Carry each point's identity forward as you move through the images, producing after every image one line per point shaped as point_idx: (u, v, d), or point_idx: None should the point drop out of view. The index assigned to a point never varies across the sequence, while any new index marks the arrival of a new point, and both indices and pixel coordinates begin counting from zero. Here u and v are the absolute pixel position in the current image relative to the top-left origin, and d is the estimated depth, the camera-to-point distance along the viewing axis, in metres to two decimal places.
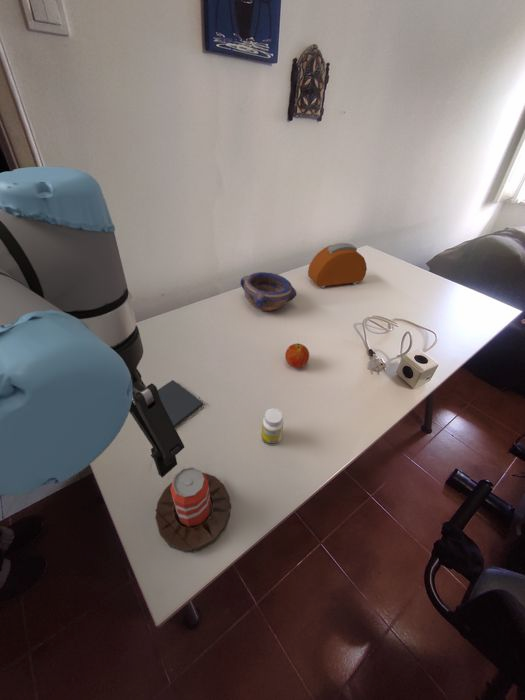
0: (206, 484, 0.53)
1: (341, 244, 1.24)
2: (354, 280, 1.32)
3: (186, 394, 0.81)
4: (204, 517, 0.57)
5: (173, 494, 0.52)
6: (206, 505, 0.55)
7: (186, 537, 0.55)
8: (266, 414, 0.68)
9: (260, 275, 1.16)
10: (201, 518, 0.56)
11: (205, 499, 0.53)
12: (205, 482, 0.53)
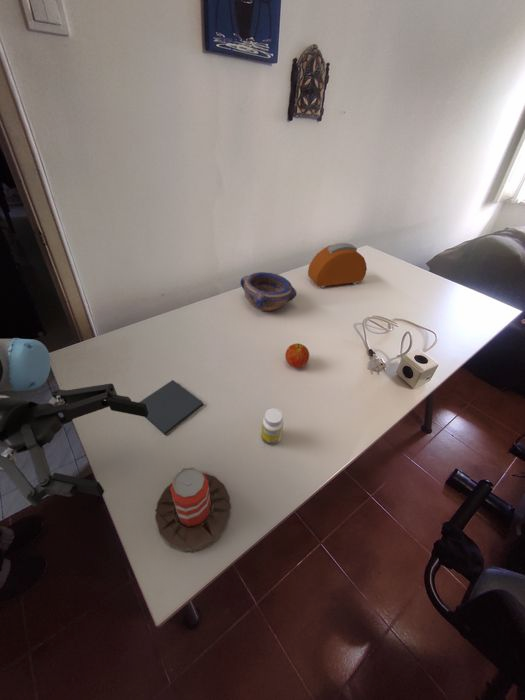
0: (206, 484, 0.53)
1: (341, 244, 1.24)
2: (354, 280, 1.32)
3: (186, 394, 0.81)
4: (204, 517, 0.57)
5: (173, 494, 0.52)
6: (206, 505, 0.55)
7: (186, 537, 0.55)
8: (266, 414, 0.68)
9: (260, 275, 1.16)
10: (201, 518, 0.56)
11: (205, 499, 0.53)
12: (205, 482, 0.53)
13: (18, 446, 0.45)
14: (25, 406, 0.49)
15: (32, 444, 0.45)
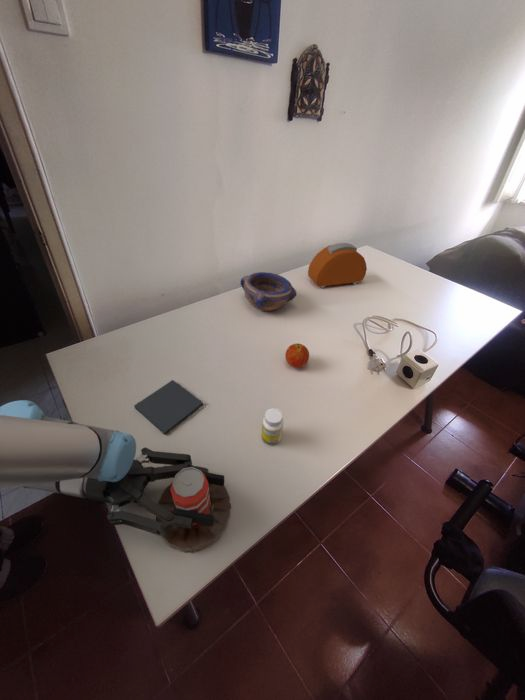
0: (206, 484, 0.53)
1: (341, 244, 1.24)
2: (354, 280, 1.32)
3: (186, 394, 0.81)
4: None
5: (173, 494, 0.52)
6: (206, 505, 0.55)
7: (186, 537, 0.55)
8: (266, 414, 0.68)
9: (260, 275, 1.16)
10: None
11: (205, 499, 0.53)
12: (205, 482, 0.53)
13: None
14: None
15: (139, 495, 0.53)
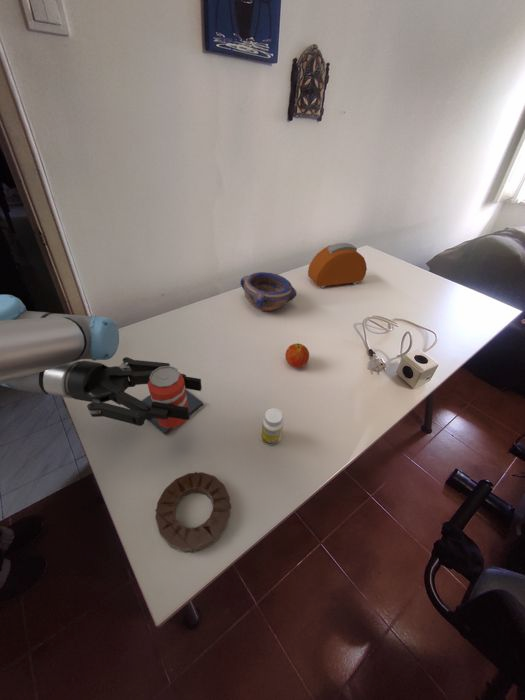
0: (182, 380, 0.56)
1: (341, 244, 1.24)
2: (354, 280, 1.32)
3: (186, 394, 0.81)
4: None
5: (150, 387, 0.54)
6: (183, 404, 0.58)
7: (186, 537, 0.55)
8: (266, 414, 0.68)
9: (260, 275, 1.16)
10: None
11: (180, 395, 0.56)
12: (181, 378, 0.56)
13: (102, 395, 0.56)
14: (100, 367, 0.60)
15: (118, 390, 0.56)
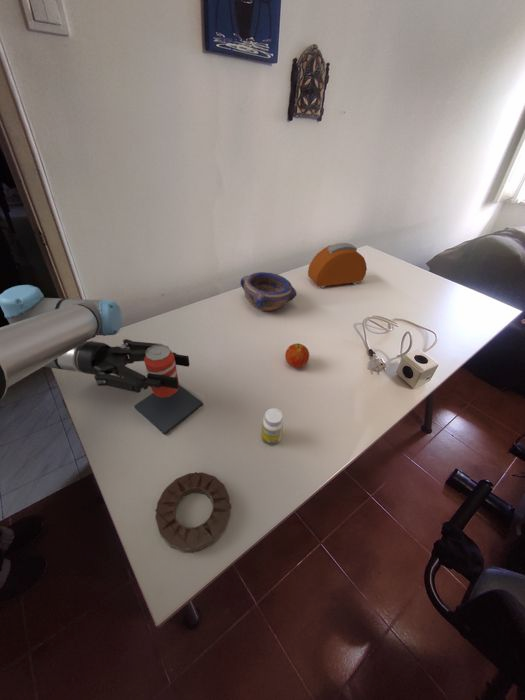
0: (172, 356, 0.68)
1: (341, 244, 1.24)
2: (354, 280, 1.32)
3: (186, 394, 0.81)
4: (172, 389, 0.72)
5: (145, 361, 0.66)
6: (173, 376, 0.70)
7: (186, 537, 0.55)
8: (266, 414, 0.68)
9: (260, 275, 1.16)
10: (169, 388, 0.71)
11: (171, 368, 0.68)
12: (171, 354, 0.68)
13: (106, 369, 0.68)
14: (104, 346, 0.71)
15: (120, 364, 0.68)
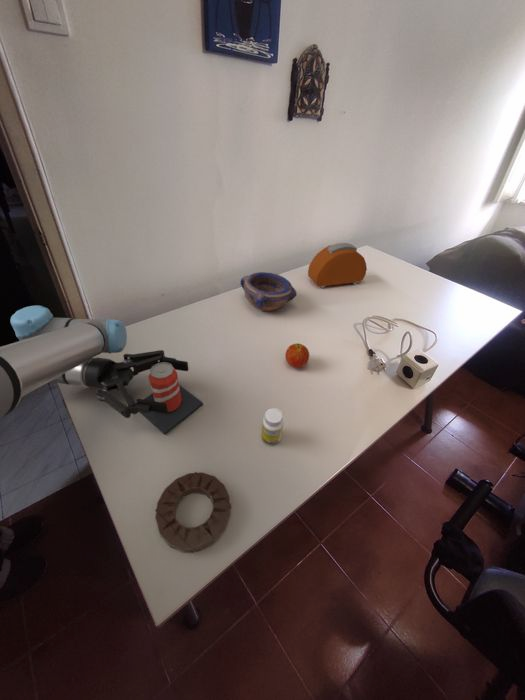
0: (175, 373, 0.72)
1: (341, 244, 1.24)
2: (354, 280, 1.32)
3: (186, 394, 0.81)
4: (175, 404, 0.75)
5: (150, 378, 0.70)
6: (176, 392, 0.73)
7: (186, 537, 0.55)
8: (266, 414, 0.68)
9: (260, 275, 1.16)
10: (172, 403, 0.74)
11: (174, 385, 0.72)
12: (174, 372, 0.71)
13: (110, 386, 0.71)
14: (110, 362, 0.75)
15: (120, 384, 0.70)
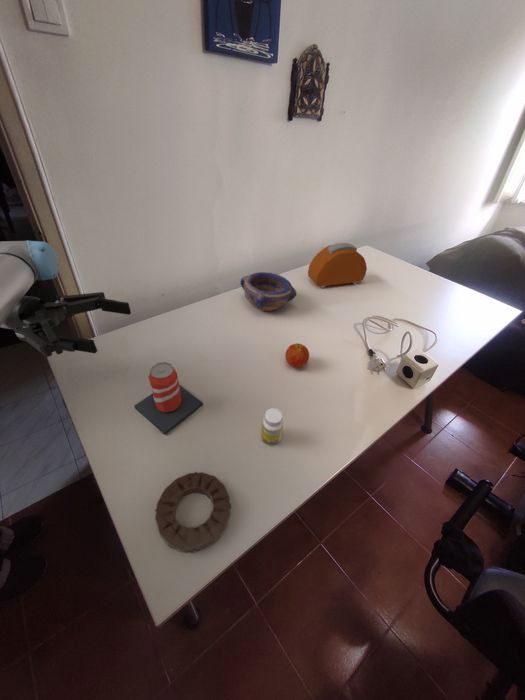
0: (175, 373, 0.71)
1: (341, 244, 1.24)
2: (354, 280, 1.32)
3: (186, 394, 0.81)
4: (175, 404, 0.75)
5: (150, 378, 0.70)
6: (176, 392, 0.73)
7: (186, 537, 0.55)
8: (266, 414, 0.68)
9: (260, 275, 1.16)
10: (172, 403, 0.74)
11: (174, 385, 0.72)
12: (174, 372, 0.71)
13: (33, 324, 0.62)
14: (37, 301, 0.66)
15: (44, 321, 0.61)
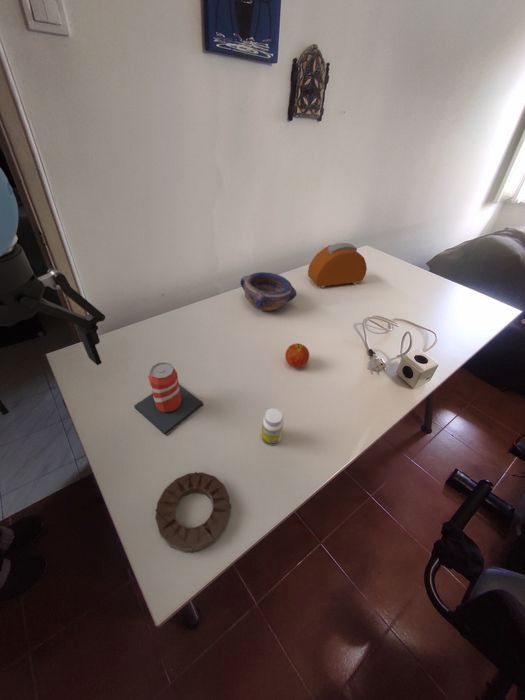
0: (175, 373, 0.71)
1: (341, 244, 1.24)
2: (354, 280, 1.32)
3: (186, 394, 0.81)
4: (175, 404, 0.75)
5: (150, 378, 0.70)
6: (176, 392, 0.73)
7: (186, 537, 0.55)
8: (266, 414, 0.68)
9: (260, 275, 1.16)
10: (172, 403, 0.74)
11: (174, 385, 0.72)
12: (174, 372, 0.71)
13: None
14: None
15: None
